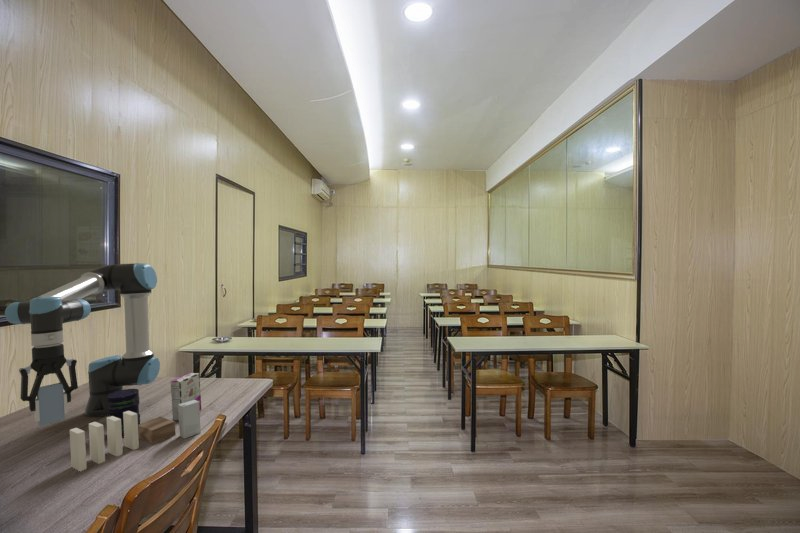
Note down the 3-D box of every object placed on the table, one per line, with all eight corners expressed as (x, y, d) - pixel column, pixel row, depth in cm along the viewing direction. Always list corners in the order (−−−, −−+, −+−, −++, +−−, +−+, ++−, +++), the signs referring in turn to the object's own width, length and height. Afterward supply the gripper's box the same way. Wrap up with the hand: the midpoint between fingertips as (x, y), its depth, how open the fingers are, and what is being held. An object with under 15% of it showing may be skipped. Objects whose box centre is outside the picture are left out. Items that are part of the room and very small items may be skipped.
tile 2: (90, 459, 125) (88, 423, 124) (96, 456, 126) (95, 421, 126) (98, 463, 122) (96, 427, 121) (105, 461, 123) (103, 425, 123)
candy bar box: (191, 409, 165) (190, 372, 164) (201, 410, 164) (200, 372, 163) (171, 420, 154) (169, 380, 153) (182, 421, 153) (180, 381, 152)
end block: (138, 438, 139) (137, 424, 139) (160, 429, 146) (160, 416, 146) (152, 444, 134) (151, 430, 134) (175, 434, 141) (174, 421, 141)
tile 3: (108, 452, 129) (106, 417, 129) (114, 450, 131) (112, 415, 130) (116, 456, 126) (114, 421, 126) (122, 454, 128) (121, 419, 127)
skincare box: (196, 430, 144) (195, 398, 144) (201, 433, 142) (199, 401, 141) (178, 436, 140) (177, 403, 139) (183, 439, 137) (182, 406, 137)
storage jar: (106, 440, 138) (104, 399, 138) (112, 429, 147) (110, 391, 147) (138, 433, 143) (137, 394, 143) (142, 423, 152) (140, 387, 151)
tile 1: (71, 466, 120) (69, 429, 120) (78, 464, 122) (76, 427, 122) (79, 471, 117) (77, 433, 117) (86, 468, 119) (84, 431, 119)
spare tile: (39, 426, 118) (37, 388, 118) (38, 425, 119) (36, 387, 119) (64, 419, 123) (62, 383, 123) (63, 418, 124) (61, 382, 124)
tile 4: (124, 445, 133) (123, 412, 133) (130, 443, 135) (128, 410, 135) (133, 449, 130) (131, 415, 130) (138, 447, 132) (137, 413, 132)
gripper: (7, 353, 111) (11, 430, 111) (88, 340, 126) (92, 409, 127) (3, 350, 115) (7, 424, 116) (82, 338, 131) (85, 404, 131)
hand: (51, 416), depth 121 cm, fingers closed on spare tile, 6 cm apart
